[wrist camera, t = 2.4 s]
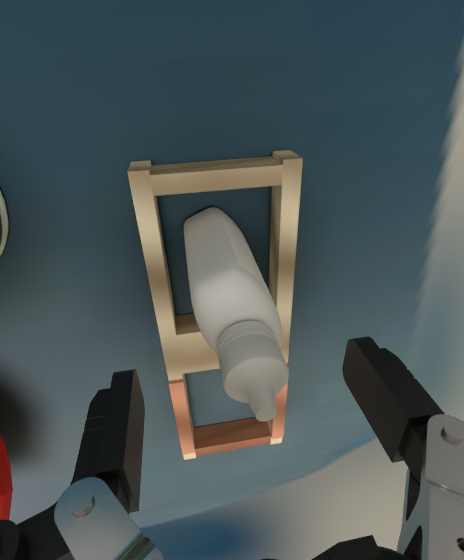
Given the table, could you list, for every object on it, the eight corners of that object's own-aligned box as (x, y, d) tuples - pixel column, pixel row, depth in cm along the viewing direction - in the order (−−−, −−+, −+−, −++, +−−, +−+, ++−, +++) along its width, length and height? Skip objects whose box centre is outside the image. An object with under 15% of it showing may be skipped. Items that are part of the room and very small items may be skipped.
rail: (131, 161, 17) (126, 173, 16) (290, 149, 18) (304, 159, 17) (183, 438, 30) (184, 463, 28) (275, 422, 31) (282, 445, 29)
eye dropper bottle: (258, 205, 20) (351, 345, 10) (248, 285, 23) (312, 457, 13) (183, 203, 19) (200, 354, 9) (182, 287, 22) (196, 471, 12)
